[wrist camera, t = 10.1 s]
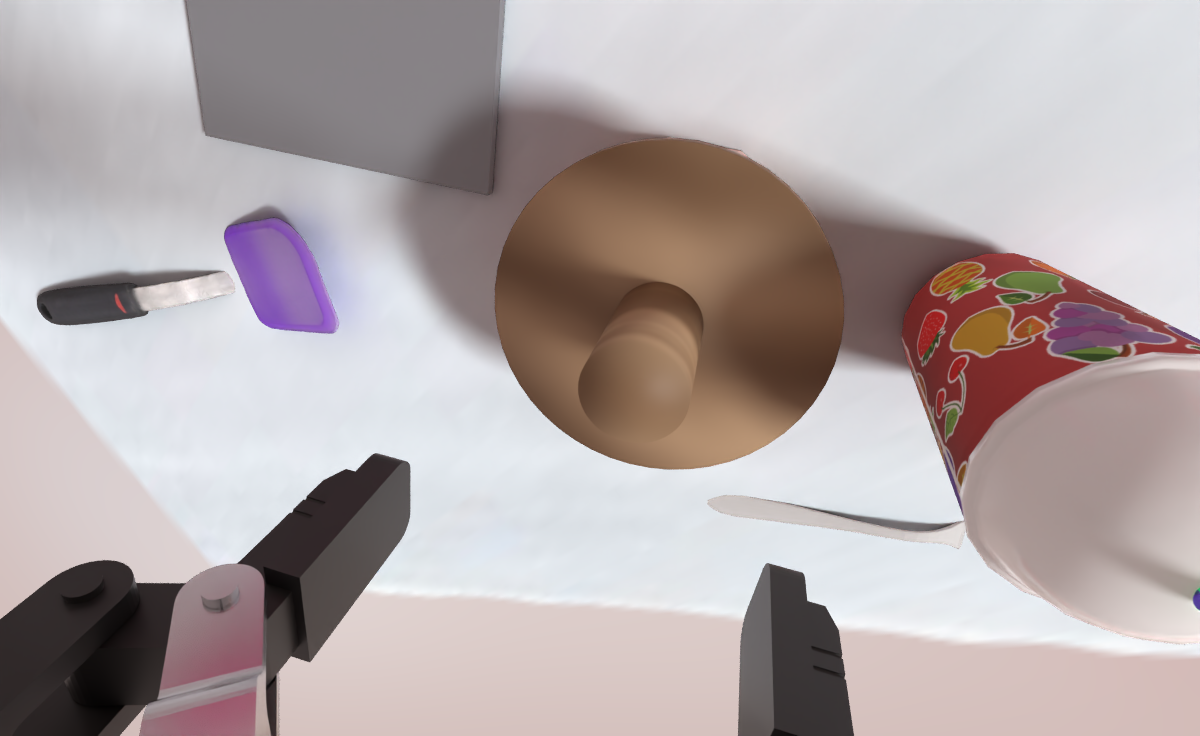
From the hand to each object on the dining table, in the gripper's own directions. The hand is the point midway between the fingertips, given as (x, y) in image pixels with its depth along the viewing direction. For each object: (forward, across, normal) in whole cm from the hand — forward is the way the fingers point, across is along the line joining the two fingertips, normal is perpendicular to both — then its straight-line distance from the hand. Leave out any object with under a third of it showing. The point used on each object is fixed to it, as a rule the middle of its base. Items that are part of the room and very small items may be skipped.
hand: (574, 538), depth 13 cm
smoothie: (+20, -14, -1) cm, 25 cm away
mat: (+20, +18, -10) cm, 29 cm away
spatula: (+20, +30, +8) cm, 37 cm away
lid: (+14, 0, 0) cm, 14 cm away
